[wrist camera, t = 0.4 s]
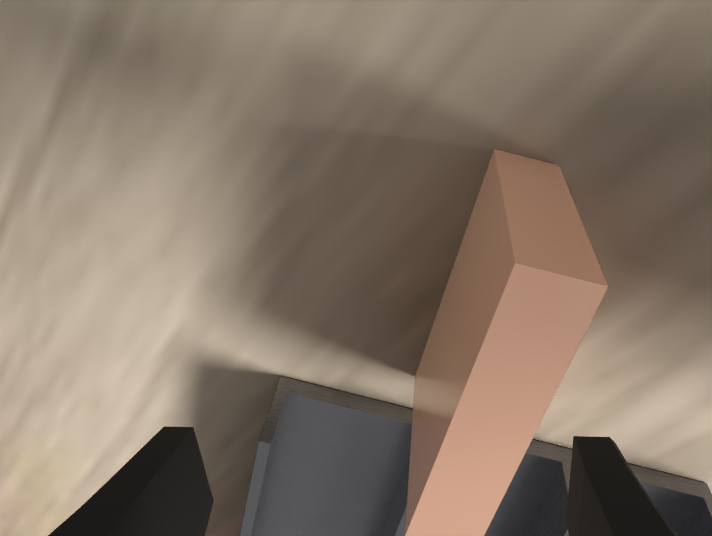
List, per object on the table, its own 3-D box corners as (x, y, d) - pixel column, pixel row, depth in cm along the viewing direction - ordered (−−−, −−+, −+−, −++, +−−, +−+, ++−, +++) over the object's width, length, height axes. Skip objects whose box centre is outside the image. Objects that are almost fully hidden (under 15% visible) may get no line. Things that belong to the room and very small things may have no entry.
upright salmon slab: (558, 165, 20) (608, 286, 14) (468, 388, 24) (475, 553, 18) (494, 148, 20) (515, 263, 14) (415, 375, 24) (405, 536, 18)
